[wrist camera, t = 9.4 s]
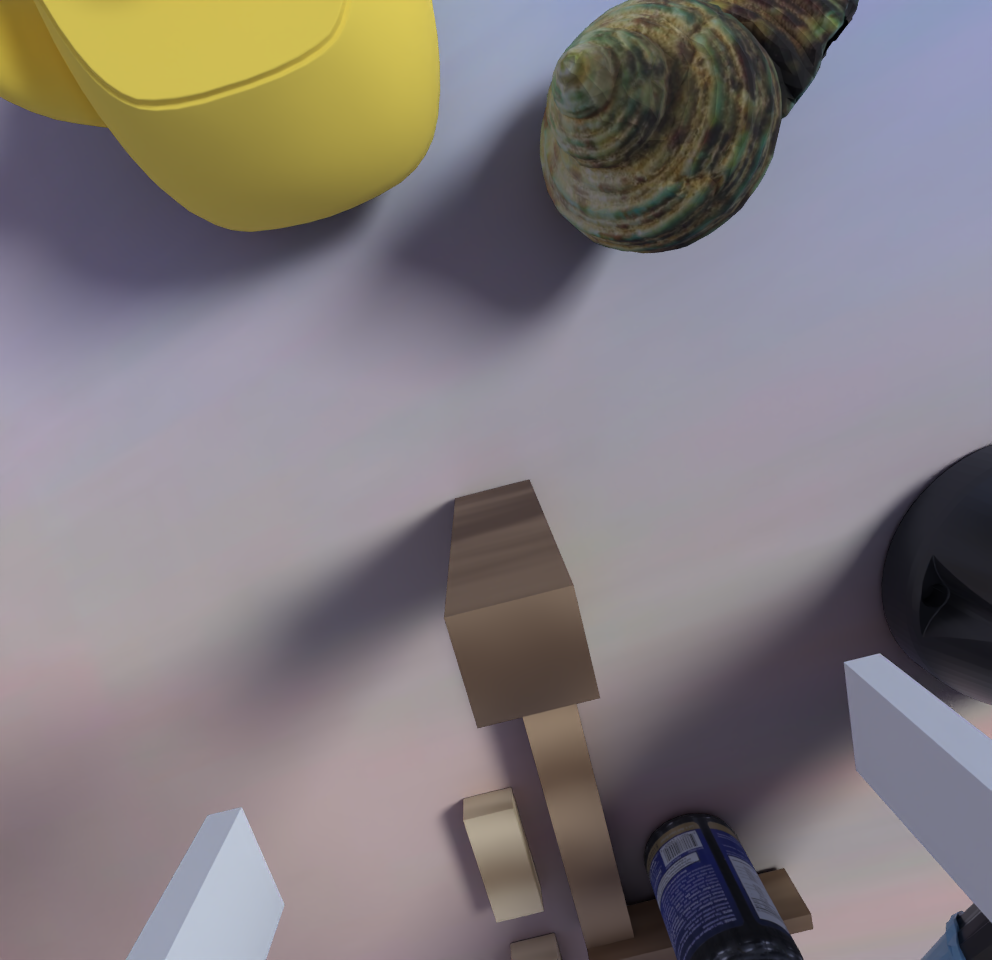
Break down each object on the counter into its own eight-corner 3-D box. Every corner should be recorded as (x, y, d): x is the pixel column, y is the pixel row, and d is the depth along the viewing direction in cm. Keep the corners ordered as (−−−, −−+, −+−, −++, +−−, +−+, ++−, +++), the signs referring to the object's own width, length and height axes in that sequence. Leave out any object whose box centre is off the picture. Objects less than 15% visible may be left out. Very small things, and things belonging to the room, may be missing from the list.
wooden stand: (455, 498, 30) (444, 617, 17) (716, 431, 29) (901, 502, 17) (577, 932, 37) (632, 1237, 25) (786, 882, 37) (949, 1164, 24)
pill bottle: (640, 888, 37) (709, 1112, 26) (643, 810, 35) (718, 1015, 25) (733, 882, 37) (839, 1103, 26) (740, 805, 36) (856, 1005, 25)
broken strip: (463, 798, 35) (463, 820, 33) (511, 787, 35) (513, 808, 33) (534, 1018, 39) (537, 1045, 38) (576, 1007, 39) (580, 1035, 38)
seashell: (740, 290, 28) (883, 265, 18) (512, 251, 27) (536, 203, 17) (799, 45, 26) (1001, -134, 16) (551, -6, 25) (604, -230, 15)
